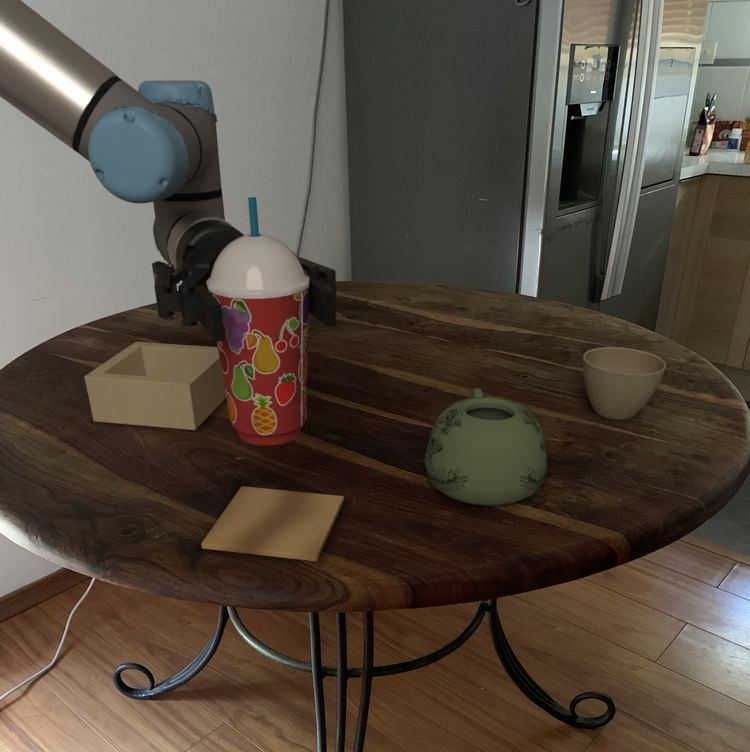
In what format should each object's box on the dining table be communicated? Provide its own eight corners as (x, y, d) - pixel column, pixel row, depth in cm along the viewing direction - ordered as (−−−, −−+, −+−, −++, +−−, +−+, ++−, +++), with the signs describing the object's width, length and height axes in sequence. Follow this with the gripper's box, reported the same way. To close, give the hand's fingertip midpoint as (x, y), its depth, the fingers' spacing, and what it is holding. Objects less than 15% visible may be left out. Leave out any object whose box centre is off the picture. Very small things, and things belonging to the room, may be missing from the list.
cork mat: (201, 548, 68) (201, 543, 68) (242, 490, 77) (241, 485, 77) (317, 561, 66) (316, 556, 66) (344, 501, 75) (343, 496, 75)
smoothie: (328, 420, 69) (321, 192, 59) (295, 459, 62) (281, 209, 52) (247, 410, 71) (227, 188, 61) (206, 446, 64) (176, 203, 54)
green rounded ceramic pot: (557, 514, 73) (569, 435, 69) (428, 515, 73) (432, 436, 69) (524, 443, 87) (532, 374, 83) (416, 445, 87) (418, 375, 82)
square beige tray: (93, 421, 92) (83, 376, 89) (142, 382, 104) (135, 341, 101) (195, 430, 90) (189, 384, 87) (233, 389, 102) (229, 347, 99)
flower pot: (603, 432, 90) (613, 377, 86) (560, 402, 98) (568, 350, 95) (671, 422, 93) (683, 368, 89) (624, 393, 101) (634, 343, 97)
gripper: (311, 284, 80) (399, 346, 63) (110, 305, 73) (143, 381, 55) (308, 212, 77) (400, 255, 59) (96, 226, 69) (126, 280, 51)
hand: (276, 316), depth 57 cm, fingers closed on smoothie, 8 cm apart
